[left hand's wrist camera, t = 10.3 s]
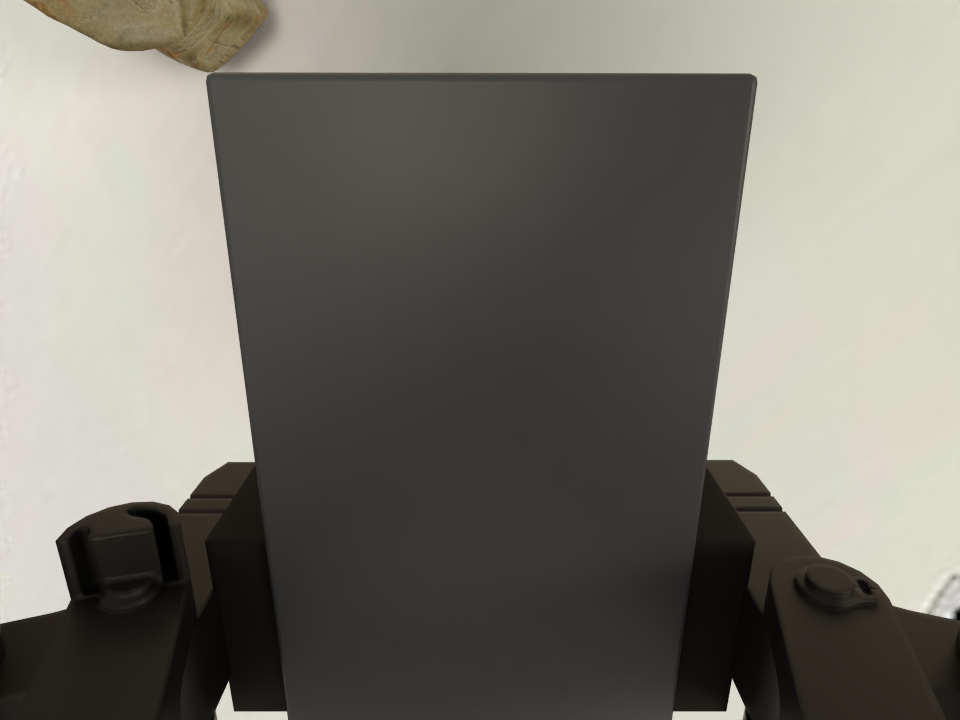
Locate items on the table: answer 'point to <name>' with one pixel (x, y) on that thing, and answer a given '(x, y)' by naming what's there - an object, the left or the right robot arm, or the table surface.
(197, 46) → the sculpture
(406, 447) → the bar
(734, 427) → the table surface
